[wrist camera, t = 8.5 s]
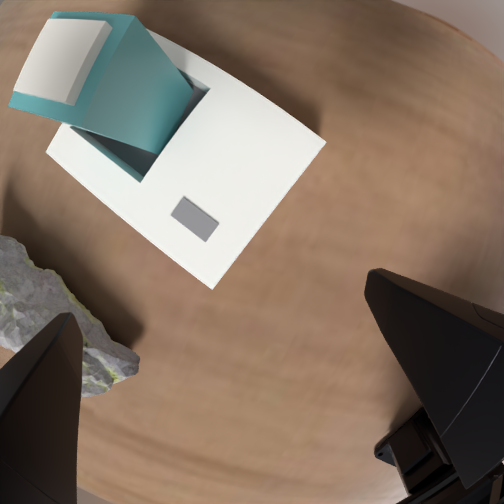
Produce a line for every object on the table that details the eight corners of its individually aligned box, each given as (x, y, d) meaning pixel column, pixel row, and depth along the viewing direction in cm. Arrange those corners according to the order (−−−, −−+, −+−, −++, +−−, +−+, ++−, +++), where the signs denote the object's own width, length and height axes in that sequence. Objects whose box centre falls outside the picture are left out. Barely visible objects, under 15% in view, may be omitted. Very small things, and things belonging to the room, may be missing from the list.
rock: (-11, 275, 21) (-63, 294, 15) (15, 211, 20) (-46, 219, 14) (108, 400, 22) (71, 449, 16) (151, 349, 21) (111, 400, 15)
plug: (193, 90, 18) (129, 7, 8) (164, 157, 18) (70, 124, 9) (133, 75, 18) (46, 6, 8) (106, 137, 18) (-2, 103, 9)
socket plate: (319, 149, 18) (326, 141, 16) (219, 278, 20) (211, 290, 17) (149, 39, 18) (135, 23, 15) (66, 155, 19) (44, 151, 17)
